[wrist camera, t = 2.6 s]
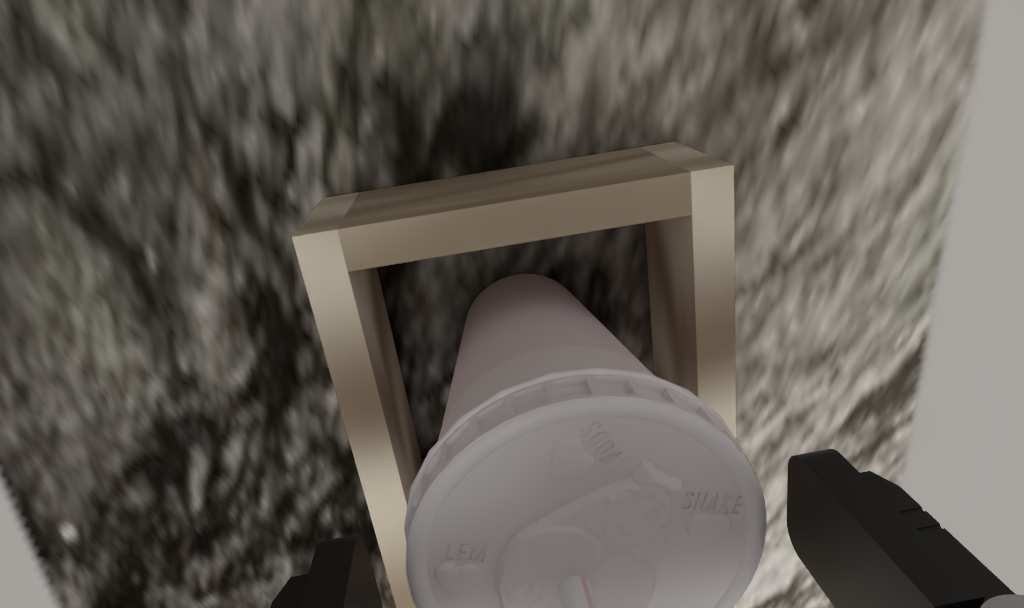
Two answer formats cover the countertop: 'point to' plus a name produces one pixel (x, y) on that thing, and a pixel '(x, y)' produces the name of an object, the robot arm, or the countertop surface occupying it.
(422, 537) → the smoothie
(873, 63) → the countertop surface
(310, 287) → the offcut rack
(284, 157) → the countertop surface
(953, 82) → the countertop surface
